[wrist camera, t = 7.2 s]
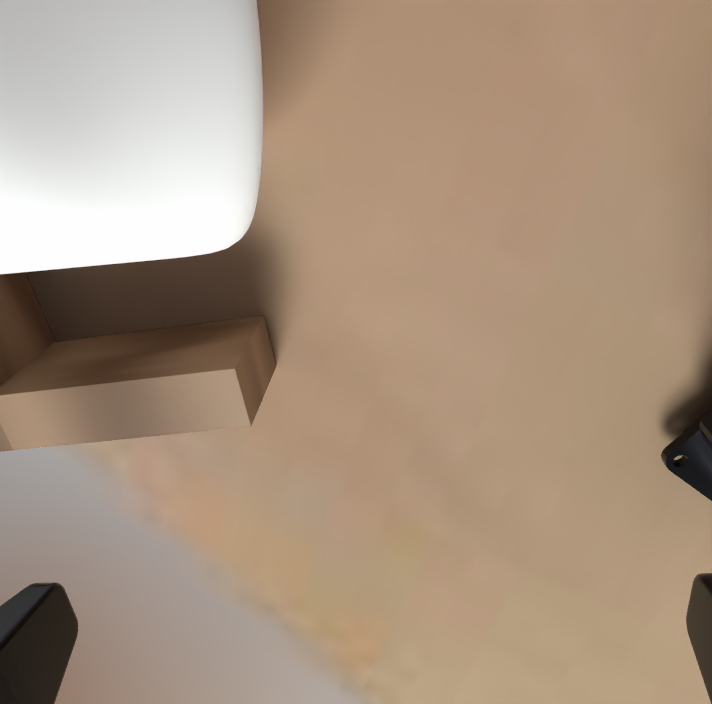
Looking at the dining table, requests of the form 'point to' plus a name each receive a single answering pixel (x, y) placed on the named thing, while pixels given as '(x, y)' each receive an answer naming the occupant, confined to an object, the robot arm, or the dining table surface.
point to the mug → (127, 130)
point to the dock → (124, 377)
